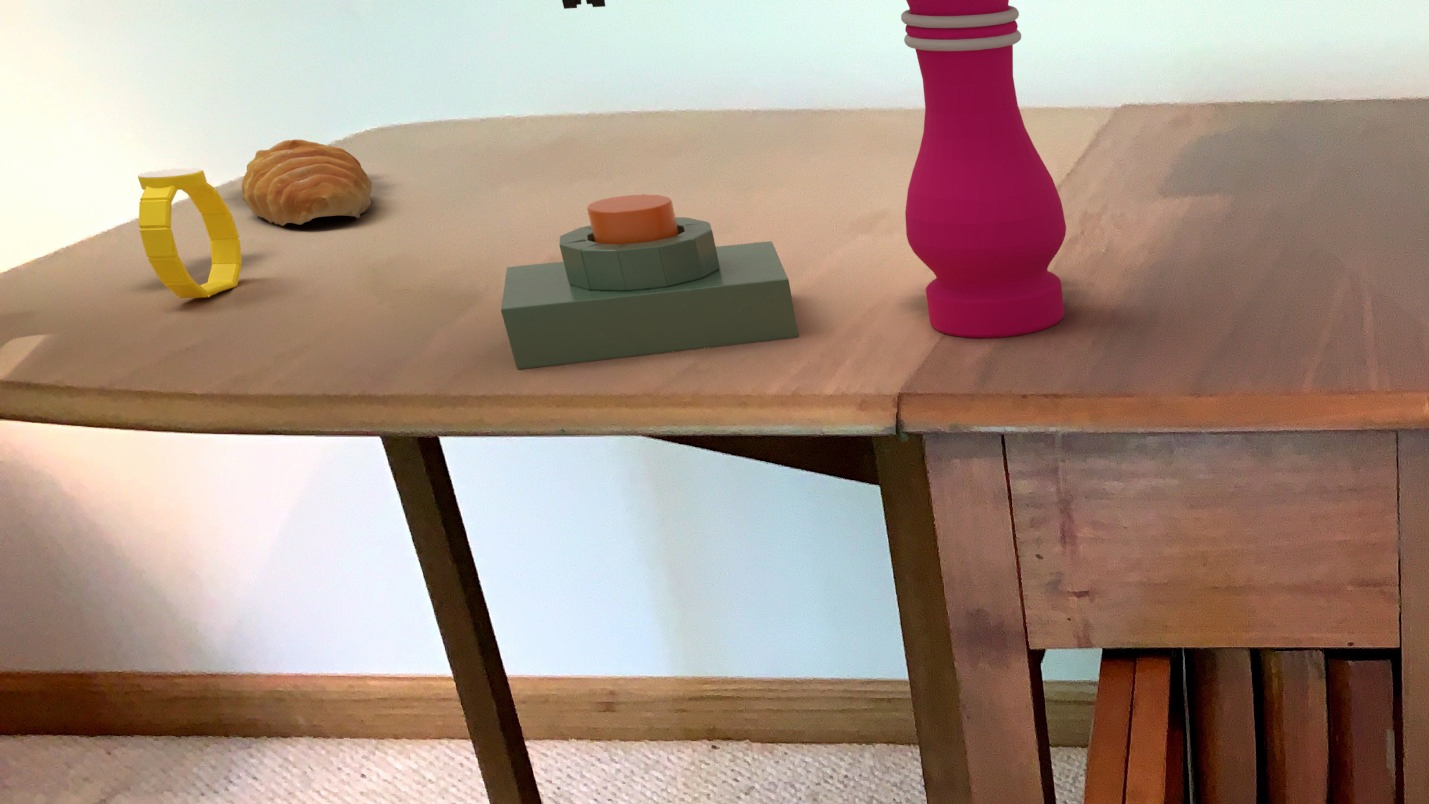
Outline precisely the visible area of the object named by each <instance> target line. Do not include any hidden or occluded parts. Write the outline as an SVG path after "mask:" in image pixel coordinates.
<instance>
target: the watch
mask: <svg viewBox="0 0 1429 804" xmlns="http://www.w3.org/2000/svg"><path fill="white" fill-rule="evenodd" d="M137 178H138V182H139V184H140V188H141V190H143V193H142V194H141V197H140V198H139V200H140V201H139V203H138V204H139V206H138V207H139V208H138V227H139V233H140V234H139V235H140V237H141V241H142V245H143V249H144V252H145V256H146V257H147V258H148V259H147V261H148V262H149V264H150V265H151V267H152V269H153V271H154V272H155V274H156V276H157V278H158V279H159V281H160V282H161V283H162V284H163V286H164V287H166V288H167V289H168V290H170V291H171V292H172V293H173V294H174V295H175V296H177V297H178V298H179V299H193V298H194V299H195V298H196V299H197V298H210V297H211V296H214V295H217V294H218V293H221V292H223V291H227V290H230V289H233V288H237V286H238V283H239V279H240V275H241V272H242V268H243V267H242V265H243V261H242V247H241V240H240V235H239V232H238V229H237V227H236V223H235V220H234V217H233V215H232V212H230V208H229V207H228V206H227V204H226V202H225V201H224V199H223V198H222V196H221V195H220V193H219V192H218V190H217V189H216V188H215V187H214V186H213V185H211V184H210V183H208V181H207V177H206V175H205V172H204V170H203V169H201V168H195V167H183V168H181V167H180V168H167V169H158V170H152V171H146V172H142V173H139V174H137ZM180 190H181V191H182V192H184V193H185V194H187V196H188V197H189V199H190V200H191V201H192V203H193V204H194V206H195V207H196V209H197V211H198V212H199V213H200V215H201V218H202V221H203V224H204V227H205V229H206V232H207V236H208V238H209V244H210V256H211V257H210V259H211V267H210V271H209V275H208V278H207V282H205V283H203V284H199V283H197V281H195V280H194V279H193V278H192V277H191V274H190V273H189V271H188V270H187V268H186V267H185V265H184V263H183V261H182V259H181V257H180V256H179V253H178V248H177V244H176V241H175V237H174V234H173V230H172V208H173V207H172V204H173V201H174V198H175V196H176V194H177V193H178V191H180Z"/></svg>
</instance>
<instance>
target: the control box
mask: <svg viewBox="0 0 1429 804" xmlns="http://www.w3.org/2000/svg"><path fill="white" fill-rule="evenodd" d="M675 218H676V223H677V228H678V232H679V235H676V236H674V237H670V238H665V239H661V240H656V241H651V242H641V243H630V244H600V243H596V242H595V240H594V236H593V232H592V227H591V224H590V225H585V226H582V227H578V228H576V229H573V230H571V231H568V232H567V233H564V234H561V235H560V236H559V249H560V254H561V258H562V261H555V262H546V263H545V262H544V263H536V264H535V263H534V264H525V265H514V266H507V267H506V272H505V279H504V285H503V286H504V287H503V291H502V292H503V293H502V299H501V307H500V313H501V316H502V319H503V323H504V327H505V331H506V334H507V338H508V342H509V345H510V349H511V353H512V356H513V360H514V364H515V368H516V369H517V370H518V371H519V370H529V369H536V368H544V367H545V368H546V367H554V366H562V365H572V364H579V362H580V363H588V362H595V361H596V362H597V361H605V360H615V359H622V358H631V357H640V356H639V355H641V356H648V355H649V356H650V355H655V354H654V353H658V354H665V352H667V353H673V352H672V351H675V352H683V350H684V351H687V350H686V349H693V350H699V349H700V348H701V349H708V348H707V347H710V348H718V347H726V346H734V345H744V344H752V343H761V342H769V341H777V340H787V339H795V338H799V337H800V334H799V329H798V324H797V323H798V322H797V318H796V312H795V307H794V302H793V301H794V300H793V296H792V291H791V285H790V280H789V278H788V275H787V273H786V271H785V268H784V266H783V264H782V261H781V259H780V257H779V254H778V252H777V250H776V247H775V246H774V245H775V244H774V243H773V241H771V240H769V241H760V242H750V243H749V242H748V243H739V244H728V245H719V246H716V241H715V237H714V233H713V229H712V226H711V225H712V224H711V223H710V222H709V221H705V220H701V219H696V218H692V217H684V216H683V217H682V216H681V217H679V216H675ZM704 347H705V348H704Z"/></svg>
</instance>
